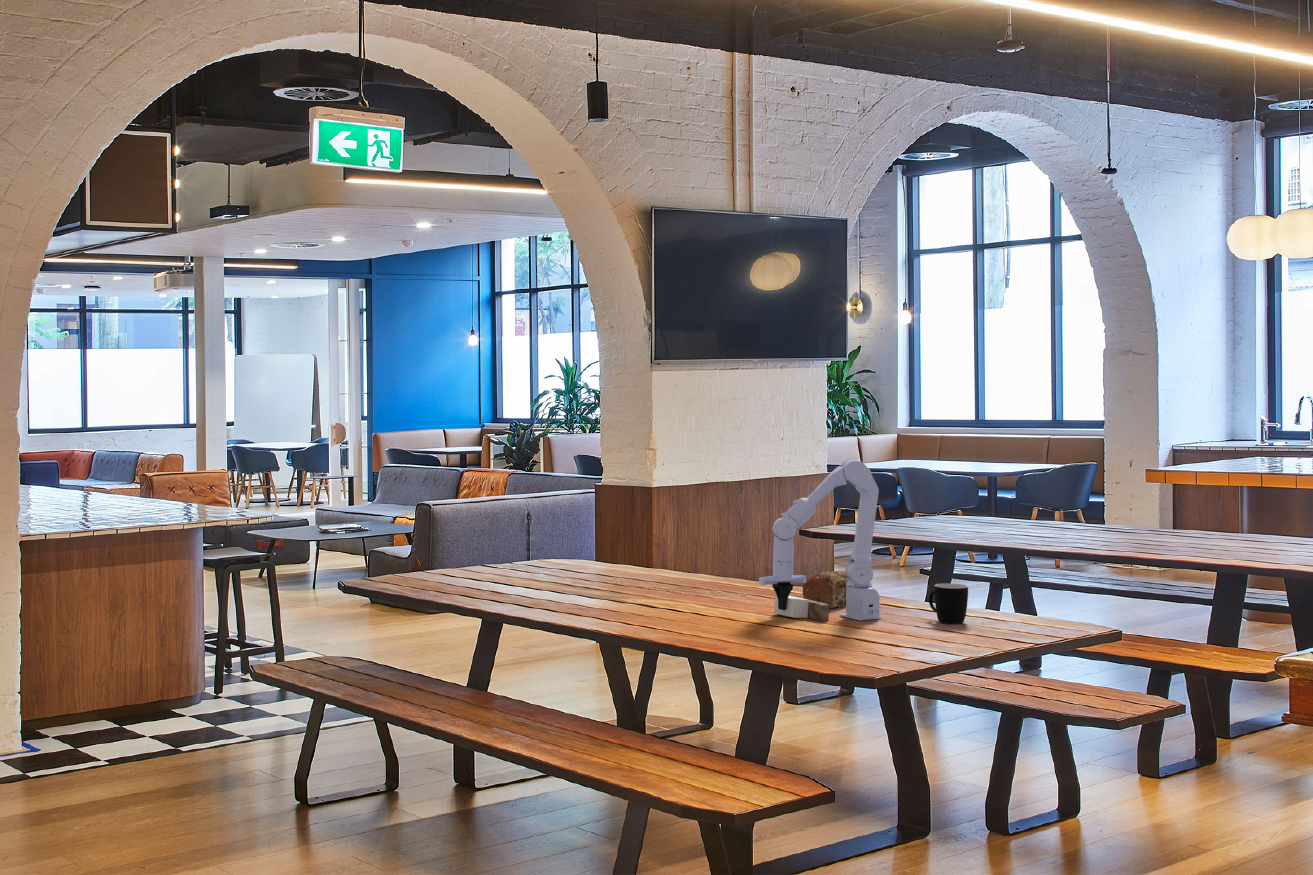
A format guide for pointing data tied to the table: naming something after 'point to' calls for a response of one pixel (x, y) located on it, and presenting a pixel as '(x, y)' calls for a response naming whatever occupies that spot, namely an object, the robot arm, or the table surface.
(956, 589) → the mug
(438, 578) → the table surface
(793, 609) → the block
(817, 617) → the board
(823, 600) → the bread
